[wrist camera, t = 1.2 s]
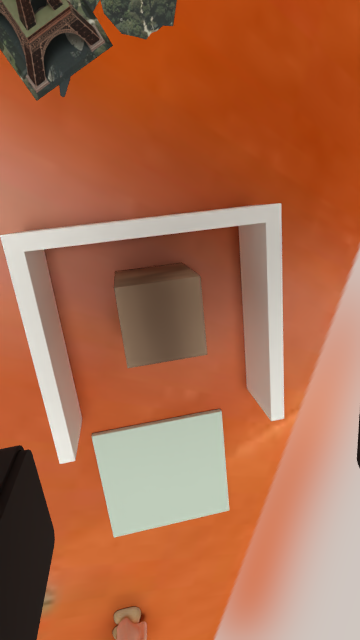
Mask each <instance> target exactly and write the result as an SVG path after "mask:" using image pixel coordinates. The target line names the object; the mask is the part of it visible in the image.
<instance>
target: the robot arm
mask: <svg viewBox="0 0 360 640" xmlns="http://www.w3.org/2000/svg"><path fill="white" fill-rule="evenodd" d="M357 461H358V465H359V467H360V416H359V434H358V449H357ZM54 540H55V537H54V529H53V525H52V521H51V518H50V514H49V511H48V507H47V504H46V500H45V497H44V493H43V490H42V486H41V483H40V480H39V476H38V473H37V469H36V466H35V462H34V459H33V455H32V452H31V451H30V450H24V449H23V447H22V446H20V445H19V446H14V447H9V448H4V449H0V640H36V639H37V634H38V629H39V623H40V618H41V613H42V607H43V602H44V597H45V591H46V586H47V581H48V575H49V570H50V565H51V559H52V554H53V549H54Z"/></svg>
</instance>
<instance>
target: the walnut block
mask: <svg viewBox="0 0 360 640" xmlns="http://www.w3.org/2000/svg"><path fill="white" fill-rule="evenodd" d="M114 291H115V296H116V302H117V308H118V314H119V320H120V326H121V332H122V338H123V344H124V350H125V356H126V362H127V368H132V367H138V366H144V365H149V364H155V363H161V362H167V361H173V360H179V359H185V358H190V357H196V356H202V355H207V346H206V334H205V323H204V312H203V300H202V289H201V277H200V275H198V274H197V273H195V272H194V271H193V270H191V269H190V268H189V267H187V266H186V265H185V264H183V263H176V264H168V265H161V266H153V267H146V268H138V269H131V270H123V271H116V272H115V279H114Z"/></svg>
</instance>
